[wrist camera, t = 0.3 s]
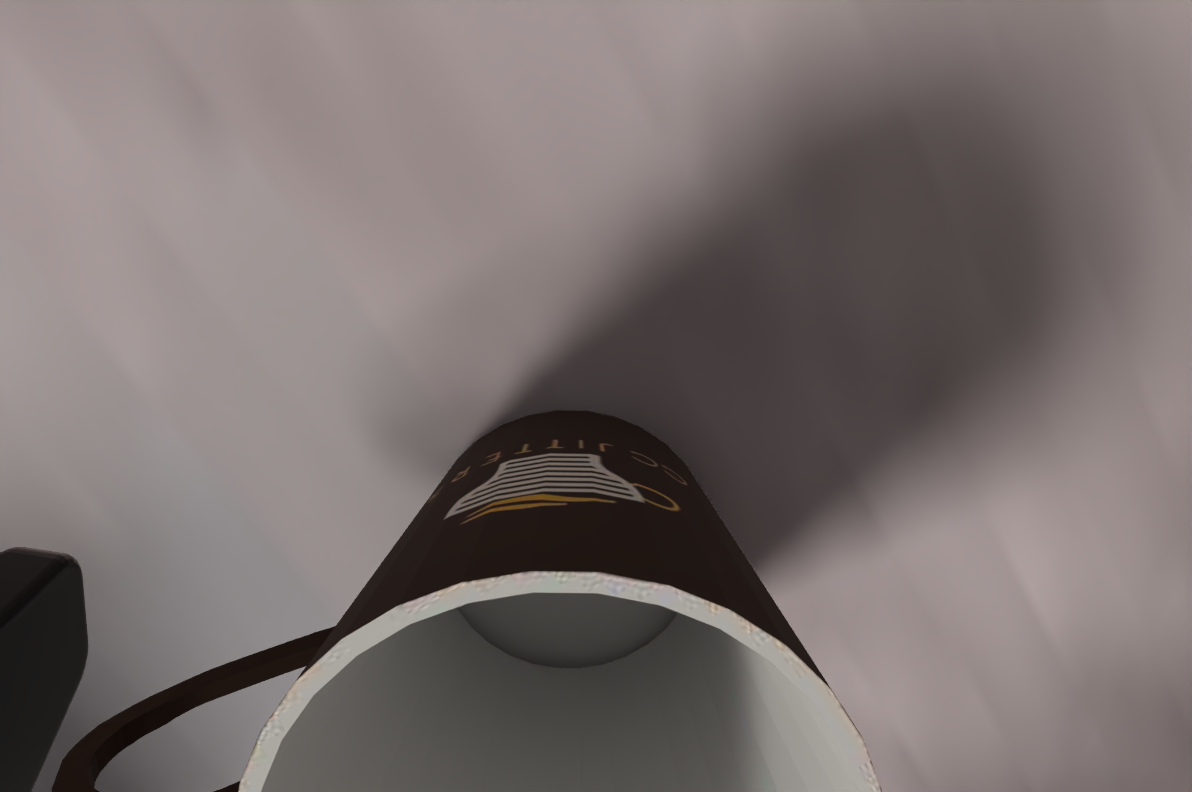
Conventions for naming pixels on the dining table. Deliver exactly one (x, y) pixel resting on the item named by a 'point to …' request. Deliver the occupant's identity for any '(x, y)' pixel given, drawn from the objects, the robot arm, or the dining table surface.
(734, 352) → the dining table surface
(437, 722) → the coffee mug
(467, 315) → the dining table surface
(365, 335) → the dining table surface
